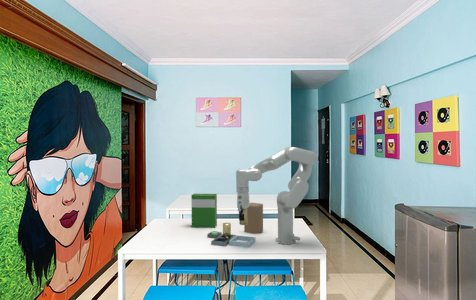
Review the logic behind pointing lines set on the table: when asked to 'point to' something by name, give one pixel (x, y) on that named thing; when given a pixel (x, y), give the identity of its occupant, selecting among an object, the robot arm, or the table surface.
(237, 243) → the tray
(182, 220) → the table surface
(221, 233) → the grey button housing
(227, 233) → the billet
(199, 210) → the hardback book
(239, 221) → the billet
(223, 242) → the metal compartment tray
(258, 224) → the wooden block
